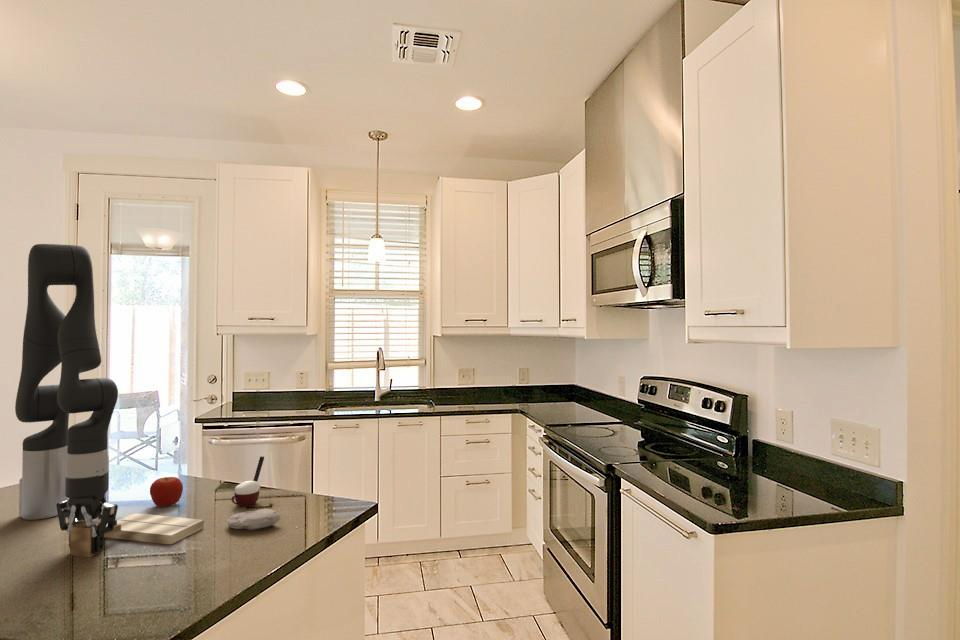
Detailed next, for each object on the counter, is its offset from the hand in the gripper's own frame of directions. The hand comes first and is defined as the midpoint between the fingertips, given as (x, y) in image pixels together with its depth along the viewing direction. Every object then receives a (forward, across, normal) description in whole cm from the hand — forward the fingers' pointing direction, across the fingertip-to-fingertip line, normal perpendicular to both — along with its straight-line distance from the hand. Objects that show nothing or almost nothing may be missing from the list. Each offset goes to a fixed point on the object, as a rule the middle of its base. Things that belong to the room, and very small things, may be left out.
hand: (86, 551), depth 115 cm
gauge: (0, 0, +3) cm, 3 cm away
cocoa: (+1, +13, +36) cm, 38 cm away
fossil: (+1, +25, +22) cm, 33 cm away
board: (0, +4, +13) cm, 14 cm away
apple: (+1, -8, +30) cm, 31 cm away
